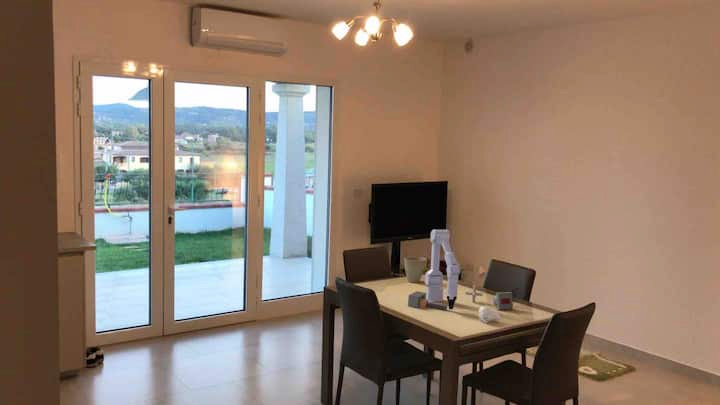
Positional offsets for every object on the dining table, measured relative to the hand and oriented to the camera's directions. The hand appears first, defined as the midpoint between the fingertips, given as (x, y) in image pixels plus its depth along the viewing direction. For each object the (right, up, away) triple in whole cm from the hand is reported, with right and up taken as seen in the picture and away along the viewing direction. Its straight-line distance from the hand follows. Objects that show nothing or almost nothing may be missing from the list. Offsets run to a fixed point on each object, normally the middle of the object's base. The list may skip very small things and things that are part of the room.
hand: (450, 309), depth 343 cm
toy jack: (+17, 0, +24) cm, 29 cm away
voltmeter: (+36, -2, +17) cm, 40 cm away
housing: (-18, +1, +10) cm, 21 cm away
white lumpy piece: (+18, -4, -18) cm, 26 cm away
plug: (-10, 0, +5) cm, 11 cm away
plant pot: (-15, +6, +72) cm, 73 cm away
